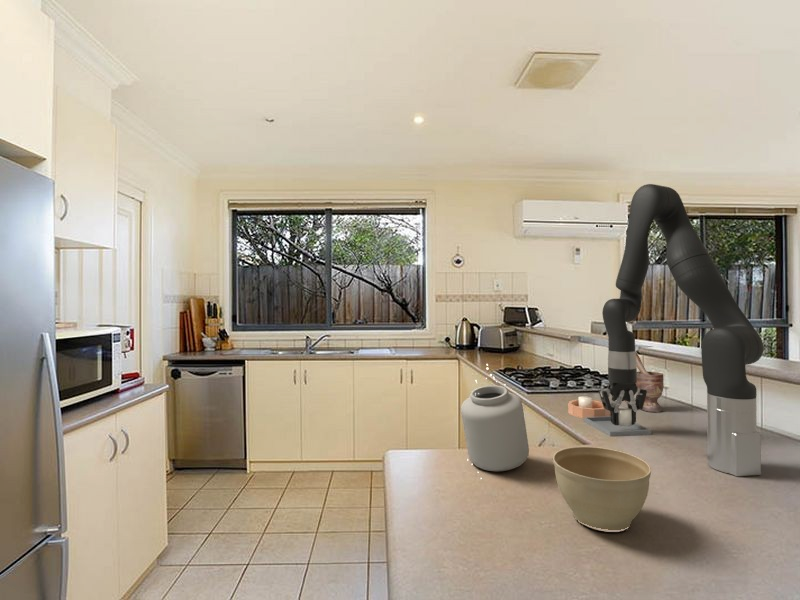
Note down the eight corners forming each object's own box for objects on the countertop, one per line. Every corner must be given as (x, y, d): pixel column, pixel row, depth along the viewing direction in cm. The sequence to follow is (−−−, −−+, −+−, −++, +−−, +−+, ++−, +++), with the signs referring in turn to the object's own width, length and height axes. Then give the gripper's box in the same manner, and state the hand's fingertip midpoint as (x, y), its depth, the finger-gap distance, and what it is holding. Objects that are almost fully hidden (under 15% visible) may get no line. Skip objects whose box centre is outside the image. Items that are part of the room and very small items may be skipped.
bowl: (618, 420, 141) (618, 408, 141) (580, 422, 140) (580, 409, 140) (597, 410, 154) (597, 398, 154) (562, 411, 153) (561, 400, 153)
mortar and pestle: (623, 408, 156) (622, 352, 156) (631, 403, 162) (631, 350, 162) (659, 414, 148) (658, 355, 147) (667, 409, 154) (666, 353, 153)
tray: (651, 437, 124) (651, 430, 124) (610, 438, 123) (610, 431, 123) (620, 422, 139) (620, 415, 139) (583, 423, 138) (583, 417, 138)
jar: (492, 487, 93) (490, 371, 93) (443, 467, 105) (442, 364, 105) (541, 464, 106) (540, 362, 105) (492, 448, 117) (491, 356, 117)
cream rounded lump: (595, 412, 147) (594, 398, 147) (582, 412, 147) (582, 399, 147) (588, 409, 152) (588, 396, 152) (576, 409, 151) (576, 396, 151)
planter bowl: (569, 492, 91) (569, 440, 91) (658, 516, 80) (658, 458, 80) (540, 524, 78) (539, 464, 78) (641, 557, 68) (640, 488, 68)
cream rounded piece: (635, 426, 125) (634, 410, 125) (620, 426, 125) (620, 410, 125) (626, 422, 130) (625, 406, 130) (612, 422, 129) (611, 407, 129)
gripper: (606, 368, 123) (607, 429, 123) (653, 367, 124) (654, 426, 124) (592, 365, 131) (593, 422, 131) (637, 363, 132) (638, 419, 132)
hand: (623, 424), depth 127 cm, fingers closed on cream rounded piece, 4 cm apart
